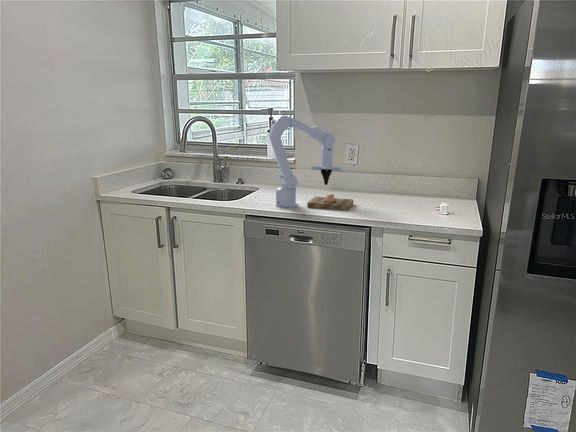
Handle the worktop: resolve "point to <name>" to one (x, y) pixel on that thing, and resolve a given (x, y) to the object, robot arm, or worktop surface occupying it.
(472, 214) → the worktop surface
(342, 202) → the socket board
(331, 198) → the dowel
